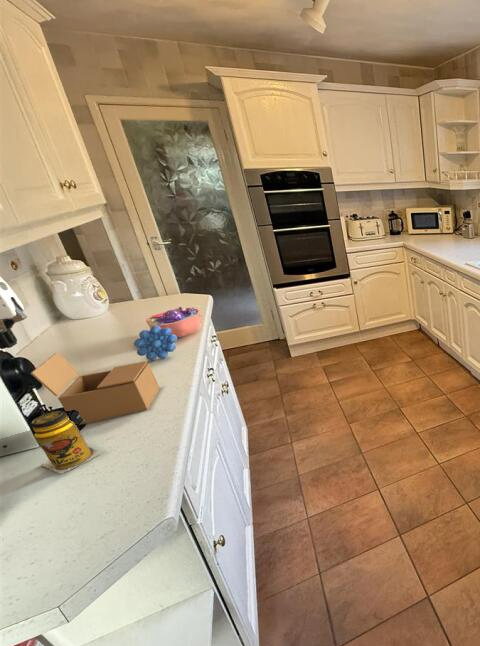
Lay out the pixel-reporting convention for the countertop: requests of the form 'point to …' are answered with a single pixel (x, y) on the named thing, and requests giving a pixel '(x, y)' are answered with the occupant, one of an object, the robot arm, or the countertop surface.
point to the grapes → (155, 343)
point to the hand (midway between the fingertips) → (9, 346)
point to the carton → (111, 392)
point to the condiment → (61, 442)
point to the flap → (55, 373)
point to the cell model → (177, 321)
